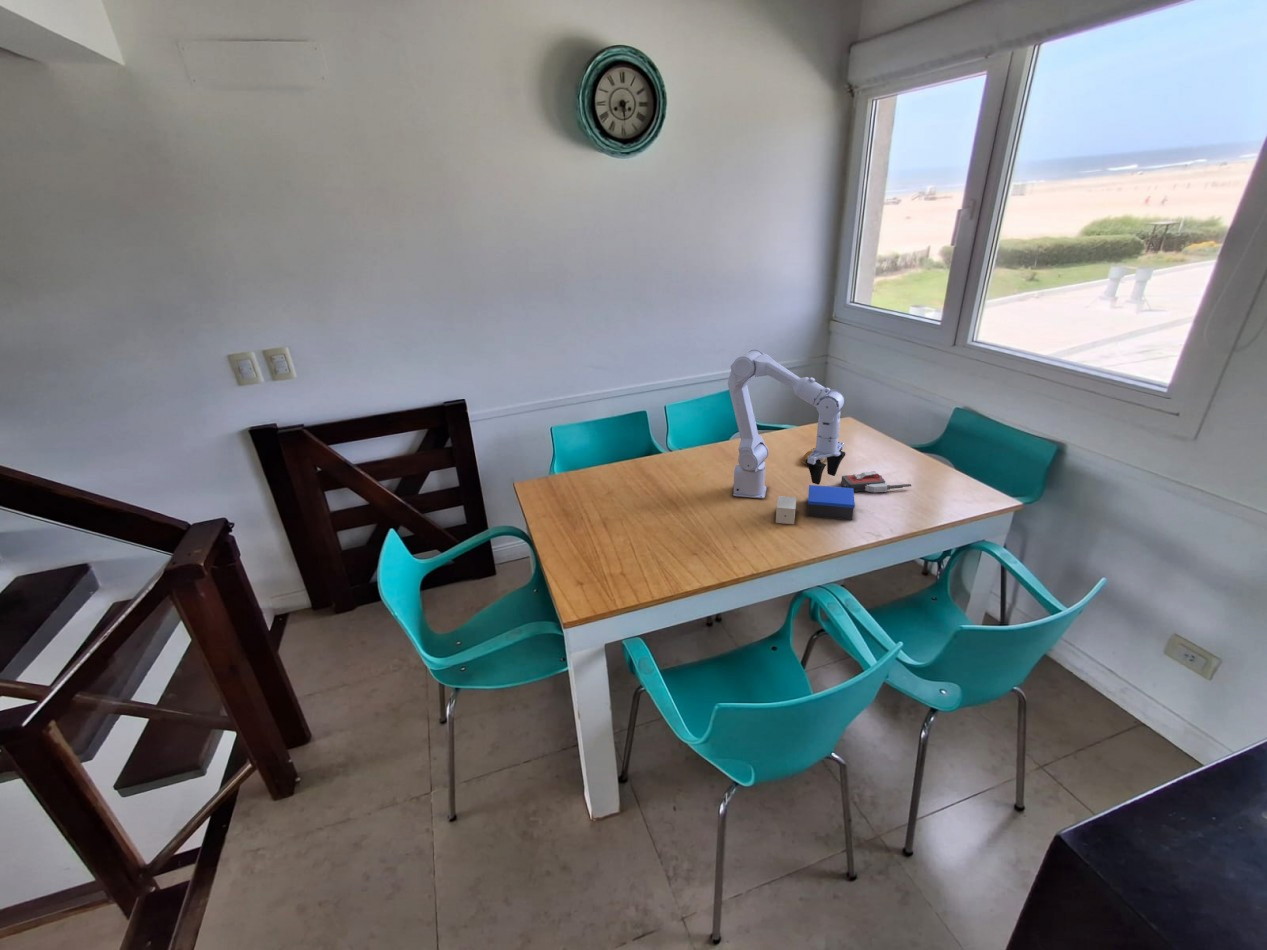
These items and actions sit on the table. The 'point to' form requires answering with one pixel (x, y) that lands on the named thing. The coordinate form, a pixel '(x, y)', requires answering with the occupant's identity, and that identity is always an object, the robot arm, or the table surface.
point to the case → (785, 510)
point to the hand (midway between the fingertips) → (823, 478)
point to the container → (831, 502)
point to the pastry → (809, 455)
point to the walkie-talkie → (868, 482)
